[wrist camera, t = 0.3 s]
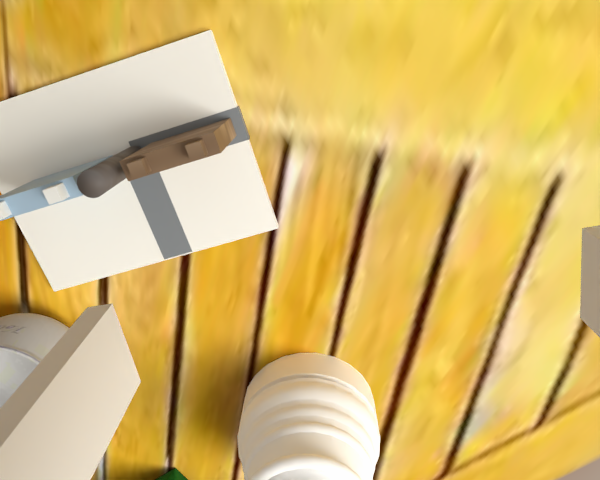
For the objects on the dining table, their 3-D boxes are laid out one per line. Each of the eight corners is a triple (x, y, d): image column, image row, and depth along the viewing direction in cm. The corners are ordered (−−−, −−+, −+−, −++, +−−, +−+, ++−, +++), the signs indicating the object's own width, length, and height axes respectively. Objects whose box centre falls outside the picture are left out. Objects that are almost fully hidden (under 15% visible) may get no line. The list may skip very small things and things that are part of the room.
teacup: (42, 276, 44) (-14, 323, 37) (128, 358, 47) (93, 416, 39) (-54, 356, 47) (-122, 414, 40) (33, 427, 50) (-16, 493, 43)
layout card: (-36, 114, 39) (-41, 115, 38) (213, 29, 36) (211, 29, 36) (57, 288, 44) (54, 291, 44) (279, 225, 42) (279, 228, 41)
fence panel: (34, 179, 40) (-30, 209, 32) (112, 155, 39) (65, 180, 32) (42, 195, 40) (-19, 228, 33) (119, 171, 40) (75, 200, 32)
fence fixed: (121, 149, 39) (72, 175, 31) (229, 114, 38) (207, 132, 30) (130, 170, 40) (84, 201, 32) (237, 137, 38) (218, 160, 30)
